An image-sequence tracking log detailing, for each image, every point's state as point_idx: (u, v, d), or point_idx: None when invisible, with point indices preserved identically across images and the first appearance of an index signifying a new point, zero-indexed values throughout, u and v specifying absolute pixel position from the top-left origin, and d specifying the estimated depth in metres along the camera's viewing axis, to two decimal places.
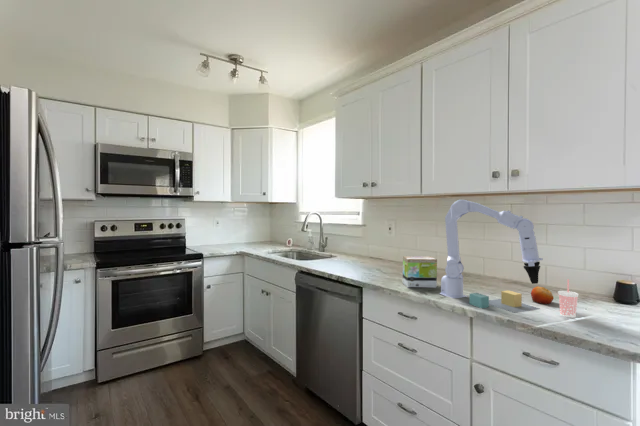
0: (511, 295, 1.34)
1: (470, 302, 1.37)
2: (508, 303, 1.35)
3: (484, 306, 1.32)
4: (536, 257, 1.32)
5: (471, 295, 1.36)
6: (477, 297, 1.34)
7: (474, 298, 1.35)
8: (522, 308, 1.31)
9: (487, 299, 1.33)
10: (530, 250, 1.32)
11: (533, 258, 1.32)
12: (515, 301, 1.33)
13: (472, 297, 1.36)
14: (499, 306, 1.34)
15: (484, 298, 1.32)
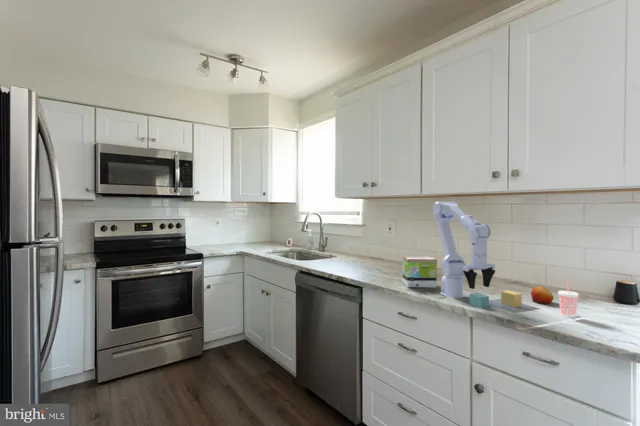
0: (511, 295, 1.34)
1: (470, 302, 1.37)
2: (508, 303, 1.35)
3: (484, 306, 1.32)
4: (479, 264, 1.32)
5: (471, 295, 1.36)
6: (477, 297, 1.34)
7: (474, 298, 1.35)
8: (522, 308, 1.31)
9: (487, 299, 1.33)
10: (474, 256, 1.34)
11: (475, 264, 1.33)
12: (515, 301, 1.33)
13: (472, 297, 1.36)
14: (499, 306, 1.34)
15: (484, 298, 1.32)
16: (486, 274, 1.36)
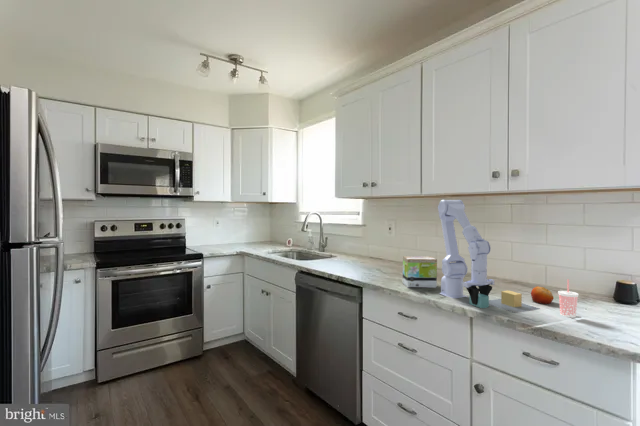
0: (511, 295, 1.34)
1: (470, 302, 1.37)
2: (508, 303, 1.35)
3: (484, 306, 1.32)
4: (479, 280, 1.33)
5: None
6: None
7: None
8: (522, 308, 1.31)
9: (487, 299, 1.33)
10: (474, 272, 1.34)
11: (475, 280, 1.33)
12: (515, 301, 1.33)
13: None
14: (499, 306, 1.34)
15: (484, 298, 1.32)
16: (483, 290, 1.36)
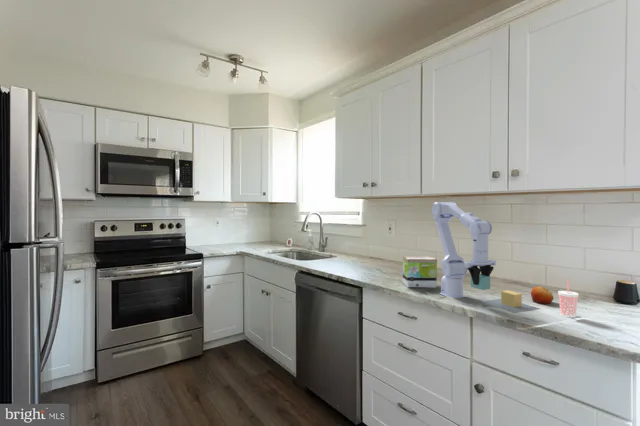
0: (511, 295, 1.34)
1: (471, 283, 1.37)
2: (508, 303, 1.35)
3: (485, 286, 1.32)
4: (480, 260, 1.32)
5: None
6: None
7: None
8: (522, 308, 1.31)
9: (488, 279, 1.33)
10: (475, 252, 1.34)
11: (477, 261, 1.33)
12: (515, 301, 1.33)
13: None
14: (499, 306, 1.34)
15: (485, 278, 1.32)
16: (484, 271, 1.36)
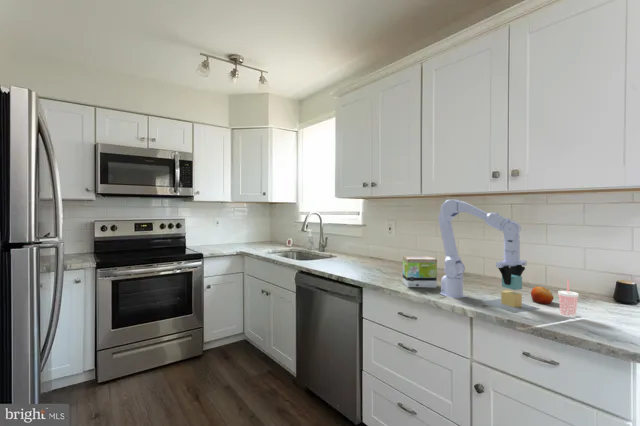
0: (511, 295, 1.34)
1: (502, 283, 1.37)
2: (508, 303, 1.35)
3: (517, 286, 1.33)
4: (512, 261, 1.33)
5: None
6: None
7: None
8: (522, 308, 1.31)
9: (520, 279, 1.33)
10: (507, 253, 1.34)
11: (508, 261, 1.34)
12: (515, 301, 1.33)
13: None
14: (499, 306, 1.34)
15: (517, 278, 1.33)
16: (515, 271, 1.36)
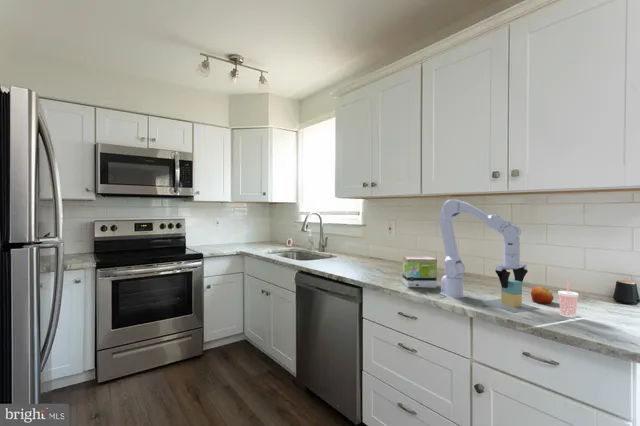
0: (511, 295, 1.34)
1: (502, 288, 1.37)
2: (508, 303, 1.35)
3: (517, 291, 1.33)
4: (512, 264, 1.33)
5: None
6: (510, 282, 1.34)
7: None
8: (522, 308, 1.31)
9: (520, 284, 1.33)
10: (507, 256, 1.34)
11: (508, 264, 1.34)
12: (515, 301, 1.33)
13: None
14: (499, 306, 1.34)
15: (517, 283, 1.33)
16: (518, 274, 1.37)
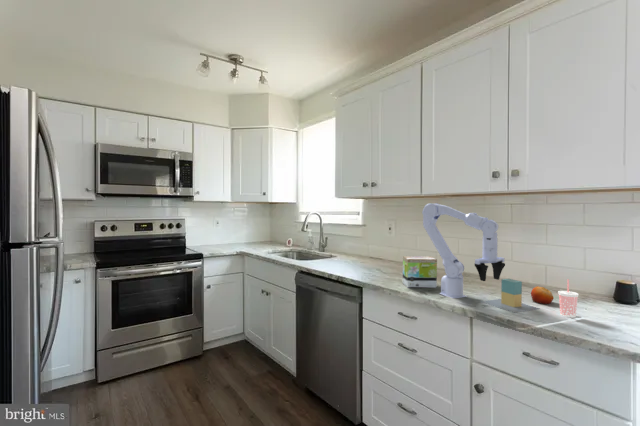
0: (511, 295, 1.34)
1: (502, 288, 1.37)
2: (508, 303, 1.35)
3: (517, 291, 1.33)
4: (490, 257, 1.40)
5: (503, 281, 1.37)
6: (510, 282, 1.34)
7: (507, 283, 1.35)
8: (522, 308, 1.31)
9: (520, 284, 1.33)
10: (485, 250, 1.41)
11: (486, 258, 1.40)
12: (515, 301, 1.33)
13: (504, 283, 1.36)
14: (499, 306, 1.34)
15: (517, 283, 1.33)
16: (496, 267, 1.43)
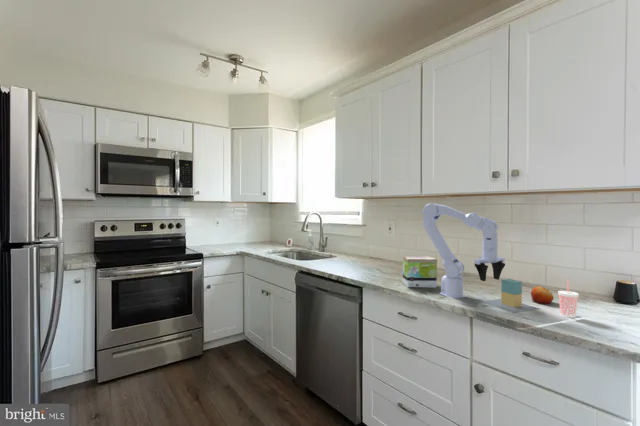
0: (511, 295, 1.34)
1: (502, 288, 1.37)
2: (508, 303, 1.35)
3: (517, 291, 1.33)
4: (490, 257, 1.40)
5: (503, 281, 1.37)
6: (510, 282, 1.34)
7: (507, 283, 1.35)
8: (522, 308, 1.31)
9: (520, 284, 1.33)
10: (485, 250, 1.41)
11: (486, 258, 1.40)
12: (515, 301, 1.33)
13: (504, 283, 1.36)
14: (499, 306, 1.34)
15: (517, 283, 1.33)
16: (496, 267, 1.43)
